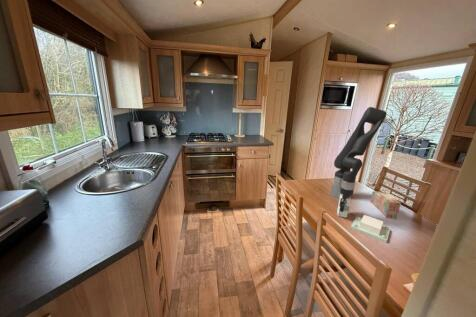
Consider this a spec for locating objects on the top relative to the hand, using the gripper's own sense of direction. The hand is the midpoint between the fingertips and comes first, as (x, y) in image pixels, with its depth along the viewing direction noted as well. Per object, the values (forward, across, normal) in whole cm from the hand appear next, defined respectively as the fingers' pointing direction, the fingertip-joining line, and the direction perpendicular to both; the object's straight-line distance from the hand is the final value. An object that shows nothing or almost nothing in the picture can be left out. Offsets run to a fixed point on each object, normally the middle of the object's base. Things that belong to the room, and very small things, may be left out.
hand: (343, 209), depth 129 cm
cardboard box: (+5, -28, +19) cm, 34 cm away
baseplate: (+5, +4, +17) cm, 18 cm away
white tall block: (+5, 0, 0) cm, 5 cm away
